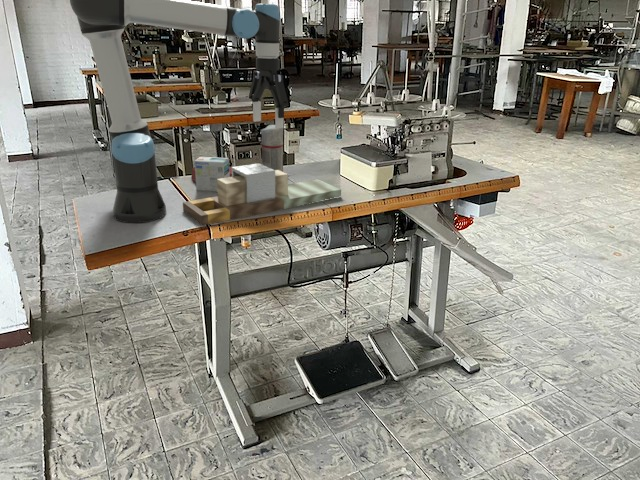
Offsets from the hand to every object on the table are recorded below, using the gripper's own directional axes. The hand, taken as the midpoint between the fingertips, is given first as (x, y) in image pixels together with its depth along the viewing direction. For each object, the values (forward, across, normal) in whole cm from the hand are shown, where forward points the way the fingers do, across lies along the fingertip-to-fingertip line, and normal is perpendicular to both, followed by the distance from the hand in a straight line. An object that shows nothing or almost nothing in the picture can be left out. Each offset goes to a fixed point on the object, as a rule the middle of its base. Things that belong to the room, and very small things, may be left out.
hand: (267, 124), depth 173 cm
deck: (+23, -11, +8) cm, 27 cm away
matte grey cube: (+20, -11, +12) cm, 26 cm away
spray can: (+24, +13, -11) cm, 29 cm away
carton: (+24, +22, +4) cm, 33 cm away
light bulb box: (+24, +13, +14) cm, 31 cm away
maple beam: (+20, -11, +12) cm, 26 cm away
